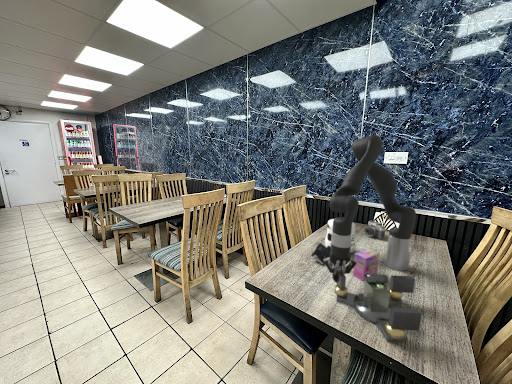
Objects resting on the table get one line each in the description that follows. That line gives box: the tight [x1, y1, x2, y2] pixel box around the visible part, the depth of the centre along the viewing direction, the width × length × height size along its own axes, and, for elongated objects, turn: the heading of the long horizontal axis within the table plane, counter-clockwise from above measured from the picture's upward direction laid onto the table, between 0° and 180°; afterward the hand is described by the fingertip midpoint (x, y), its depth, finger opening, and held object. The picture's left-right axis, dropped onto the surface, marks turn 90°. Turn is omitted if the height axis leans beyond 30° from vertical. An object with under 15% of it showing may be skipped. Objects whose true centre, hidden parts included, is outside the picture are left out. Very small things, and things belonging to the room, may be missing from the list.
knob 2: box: [385, 307, 422, 340], centre depth 62 cm, size 9×5×8 cm, turn 86°
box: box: [352, 248, 380, 282], centre depth 96 cm, size 10×6×12 cm, turn 117°
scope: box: [310, 242, 333, 265], centre depth 108 cm, size 8×14×10 cm, turn 42°
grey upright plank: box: [334, 267, 349, 297], centre depth 82 cm, size 9×5×8 cm, turn 176°
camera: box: [364, 219, 386, 241], centre depth 146 cm, size 16×10×10 cm, turn 4°
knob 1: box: [387, 274, 416, 300], centre depth 79 cm, size 9×5×8 cm, turn 86°
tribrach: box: [336, 273, 406, 343], centre depth 72 cm, size 25×22×14 cm
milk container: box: [324, 218, 356, 255], centre depth 122 cm, size 17×17×18 cm
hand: (337, 280), depth 85 cm, fingers closed on grey upright plank, 2 cm apart
